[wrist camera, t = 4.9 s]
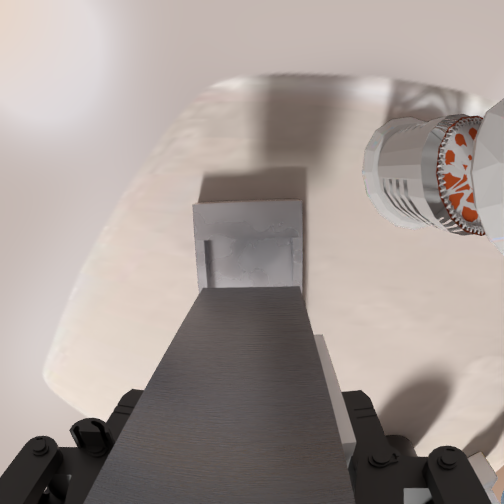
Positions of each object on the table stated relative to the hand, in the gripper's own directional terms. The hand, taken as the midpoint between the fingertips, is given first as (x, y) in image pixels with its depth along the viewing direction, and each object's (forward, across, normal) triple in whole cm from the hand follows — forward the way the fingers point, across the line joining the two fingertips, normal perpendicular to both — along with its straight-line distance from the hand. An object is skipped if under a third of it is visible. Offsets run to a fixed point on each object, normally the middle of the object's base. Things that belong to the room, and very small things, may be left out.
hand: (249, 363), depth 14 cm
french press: (+13, -14, -8) cm, 21 cm away
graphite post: (+3, 0, 0) cm, 3 cm away
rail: (+13, +1, +8) cm, 15 cm away
